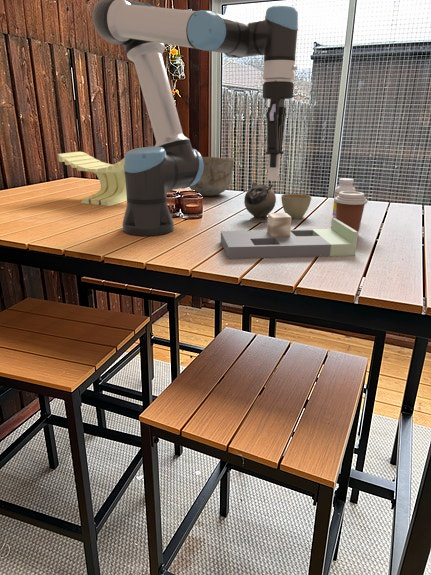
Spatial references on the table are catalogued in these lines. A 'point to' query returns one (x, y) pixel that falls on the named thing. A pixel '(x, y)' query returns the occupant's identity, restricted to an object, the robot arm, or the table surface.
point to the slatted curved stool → (100, 177)
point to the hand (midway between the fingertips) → (273, 179)
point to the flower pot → (295, 204)
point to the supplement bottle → (344, 185)
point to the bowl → (214, 176)
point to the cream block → (279, 224)
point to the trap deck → (291, 243)
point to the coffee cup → (350, 208)
